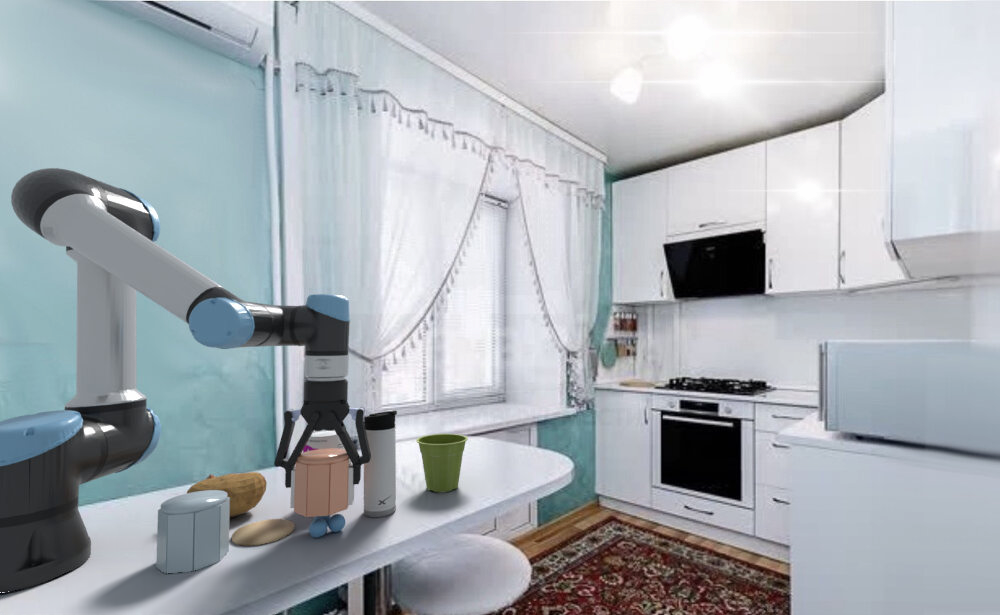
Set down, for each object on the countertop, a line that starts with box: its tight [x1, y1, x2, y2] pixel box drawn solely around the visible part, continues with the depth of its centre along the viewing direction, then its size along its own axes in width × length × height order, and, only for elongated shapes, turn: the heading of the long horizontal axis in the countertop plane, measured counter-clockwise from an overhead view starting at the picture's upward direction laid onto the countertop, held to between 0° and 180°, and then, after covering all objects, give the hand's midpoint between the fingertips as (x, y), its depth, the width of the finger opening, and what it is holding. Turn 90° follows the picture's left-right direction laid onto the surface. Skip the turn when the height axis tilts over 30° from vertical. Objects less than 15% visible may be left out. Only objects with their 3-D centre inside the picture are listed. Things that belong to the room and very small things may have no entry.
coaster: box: [231, 518, 295, 547], centre depth 83 cm, size 10×10×1 cm
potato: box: [186, 471, 267, 519], centre depth 91 cm, size 10×14×8 cm
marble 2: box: [308, 519, 328, 538], centre depth 81 cm, size 3×3×3 cm
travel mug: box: [363, 410, 398, 518], centre depth 93 cm, size 6×7×20 cm
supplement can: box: [302, 430, 345, 453], centre depth 97 cm, size 8×8×15 cm
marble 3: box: [327, 513, 346, 533], centre depth 83 cm, size 3×3×3 cm
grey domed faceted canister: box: [155, 490, 230, 575], centre depth 74 cm, size 9×9×9 cm
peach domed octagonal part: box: [293, 448, 352, 518], centre depth 84 cm, size 9×9×9 cm
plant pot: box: [416, 433, 469, 493], centre depth 107 cm, size 12×12×11 cm
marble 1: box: [312, 515, 332, 528], centre depth 85 cm, size 3×3×3 cm
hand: (322, 503), depth 83 cm, fingers closed on peach domed octagonal part, 9 cm apart
